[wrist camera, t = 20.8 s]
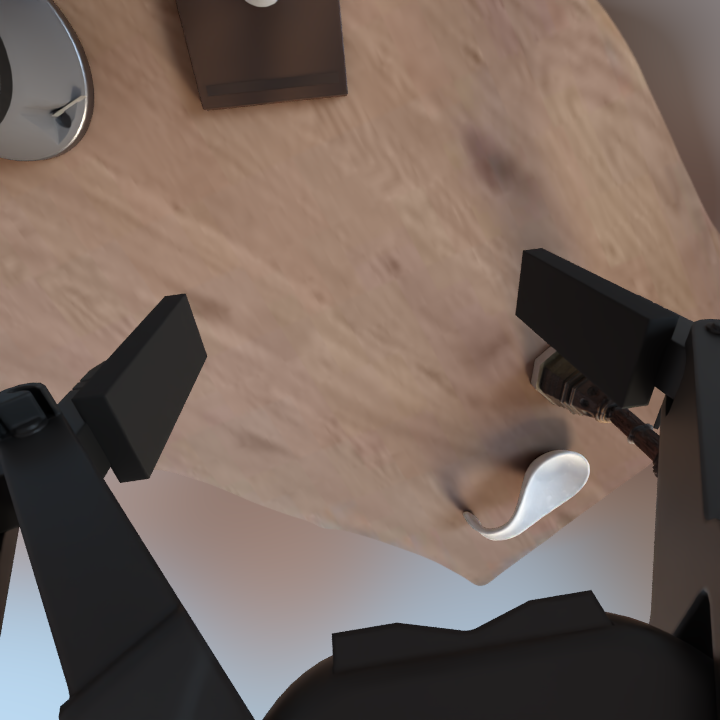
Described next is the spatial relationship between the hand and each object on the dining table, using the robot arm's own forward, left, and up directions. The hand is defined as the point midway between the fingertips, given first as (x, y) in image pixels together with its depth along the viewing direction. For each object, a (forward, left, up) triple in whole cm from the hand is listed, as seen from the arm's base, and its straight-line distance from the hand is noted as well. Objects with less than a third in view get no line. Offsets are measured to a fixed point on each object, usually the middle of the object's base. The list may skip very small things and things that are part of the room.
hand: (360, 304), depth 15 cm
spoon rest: (+28, -53, -33) cm, 68 cm away
